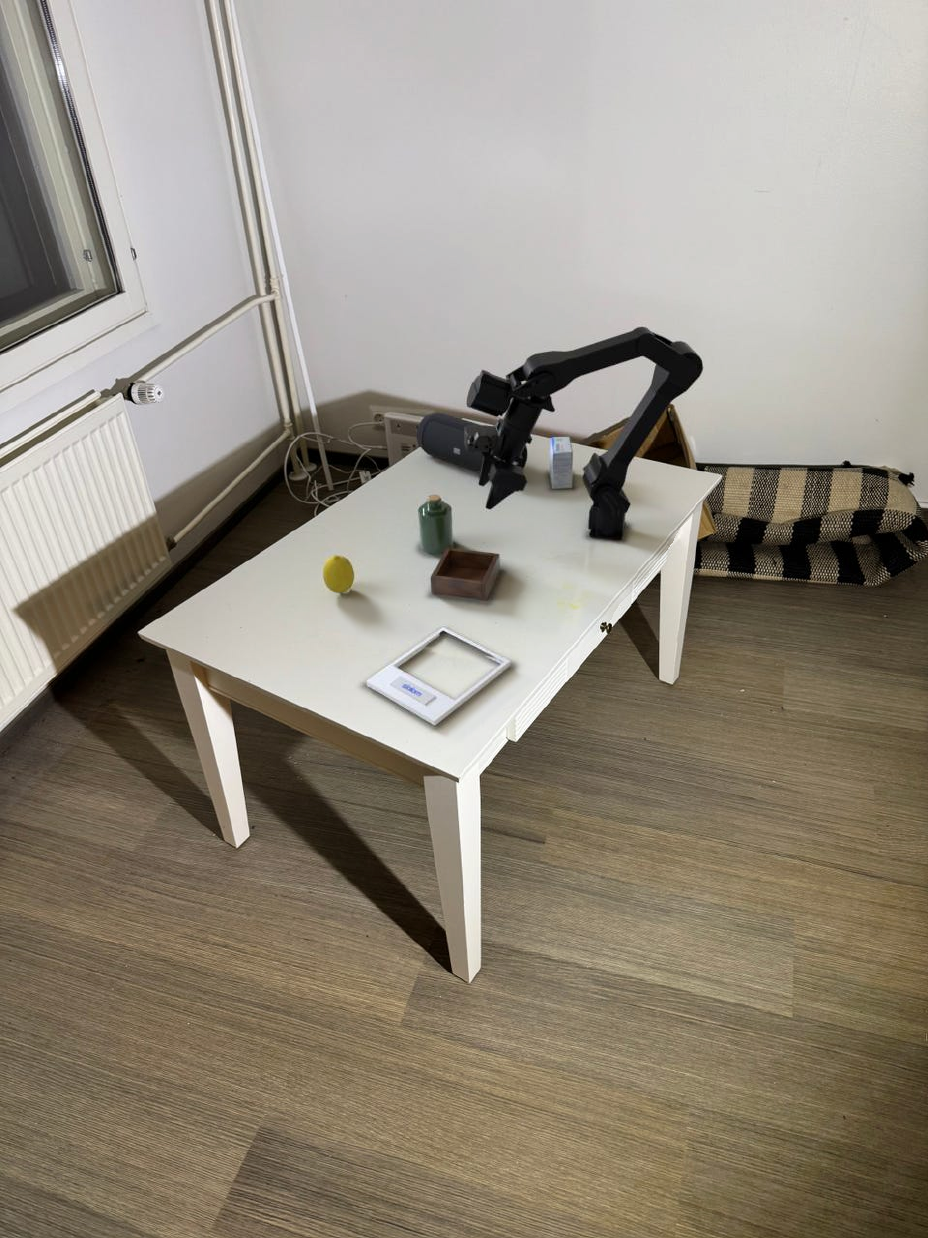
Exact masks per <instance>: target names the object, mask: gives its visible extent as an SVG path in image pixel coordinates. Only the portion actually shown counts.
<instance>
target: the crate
mask: <svg viewBox="0 0 928 1238" xmlns="http://www.w3.org/2000/svg"><path fill="white" fill-rule="evenodd" d="M500 557H501V554H500V553H496V552H495V553H494V552H488V551H478V550H472V549H471V550H470V549H462V548H454V547H453V548H446V550H445V552H444V553H443V554H441V557H440V559H439V561H438V563H437V564H436V566H435V568H434V569H433V572H432V574H431V575H430V589H431V594H432V595H439V596H440V595H441V596H448V597H455V598H461V599H462V598H463V599H470V600H476V601H477V600H478V601H487V600H488V598H489V595H490V594H491V592H492V589H493V587H494V585H495V582H496V580H497V578H498V575H499V573H500V571H501V560H500V559H501V558H500Z"/></svg>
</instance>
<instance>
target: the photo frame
mask: <svg viewBox="0 0 928 1238" xmlns="http://www.w3.org/2000/svg"><path fill="white" fill-rule="evenodd" d="M441 632H446V633H447V634H449V635H451V636H454V637H455V638H457V639H459V640H461V641H463V642H465V643H467V644H469V645H471V646H473V647H475V648H477V649H479V650H481V651H483V652H485V653H486V654H488V655H486V654H483V656H484V657H486V658H488V659H490V660H492V661H494V662H496V663H497V664H499V665H498V666H497V667H496V668H494V669H493V670H491V672H489V673H488V674H487V675H485V676H484V677H483V678H482V679H480V680H479V681H478V682H476V683H475V684H473V685H472V687H470V688H469V689H468V690H466V691H465V692H464V693H463V694H461V695H460V696H459V697H457V698H456V699H453V698H452V697H449V696H448V695H446V694H445V693H442V692H441V691H439V690H437V689H435V688H434V687H432V686H430V685H428V684H426V683H425V682H423V681H421V680H419V679H418V678H415V677H414V676H412V675H411V674H409V673H407V672H405V671H403V670H402V669H400V668H399V667H400V666H401V665H403V664H404V663H406V662H407V661H408V660H410V659H411V658H413V657H414V656H415V655H417V654H419V653H420V652H421V651H423V650H424V649H425V648H427V645H429V644H430V643H432V642H433V641H434V640H436V639H437V638H439V637H440V636H441V635H440V633H441ZM510 666H511V660H509V659H507V658H505V657H503V656H501V655H500V654H497V653H495V652H493V651H492V650H489V649H488V648H485V647H483V646H481V645H479V644H478V643H475V642H473V641H472V640H471V639H470V640H469V639H467V638H465V637H464V636H461V635H460V634H458V633H456V632H454V631H452V630H450V629H448V628H446V627H444V626H442V627H440V628H439V629H438V630H437V631H435V632H434V633H432V634H431V635H429V636H428V637H426V638H425V639H424V640H422V641H421V642H419V643H417V644H416V645H415V646H413V648H412V647H411V649H410V650H408V651H407V652H405V653H403V655H401V656H400V657H398V658H397V659H395V660H394V661H392V662H391V663H389V664H388V665H387V666H386V667H384V668H383V669H381V670H379V671H378V672H377V673H375V674H374V675H372V676H371V677H370V678H368V679H367V680H366V686H367V687H369V688H370V689H372V690H374V691H376V692H377V693H379V694H380V695H382V696H384V697H386V698H387V699H389V700H391V701H392V702H394V703H396V704H398V705H399V706H401V707H402V708H404V709H406V710H408V712H411V713H412V714H414V715H416V716H417V717H419V718H421V719H423V720H424V721H426V722H428V723H429V724H431V725H433V726H437V725H438V724H440V722H442V721H443V720H444V719H445V718H446V717H448V716H449V715H450V714H451V713H453V712H454V711H455V710H456V709H458V708H459V707H460V706H461V705H463V704H464V703H465V702H467V701H468V700H469V699H471V697H473V696H474V695H475V694H477V693H478V692H479V691H480V690H482V689H483V688H484V687H486V686H487V685H489V683H491V682H492V681H493V680H494V679H496V678H497V677H498V676H499V675H500V674H501V673H503V672H504V671H505V670H507V669H508V668H509V667H510Z"/></svg>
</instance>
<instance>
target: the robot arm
mask: <svg viewBox="0 0 928 1238" xmlns="http://www.w3.org/2000/svg"><path fill="white" fill-rule="evenodd" d="M640 357H644V358H646V359H647V360H649V361H651V362H652V363H654V369H653V373H652V378H651V383H650V385H649V387H648V389H647V390H646V391H645V393H644V395H643V396H642V398H641V400H640V401H639V402H638V403H637V406H636V408H635V409H634V410H633V412H632V414H631V415H630V416H629V418H628V419H627V421H626V423H625V425H624V426H623V427H622V428H621V430H620V432H619V434H618V435H617V436H616V438H615V440H614V441H613V443H612V445H611V446H610V447H609V449H608V450H606V451H605V452H604V453H602V454H600V455H599V454H598V453H596V452H594V453H592V455H591V457H590V459H589V460H588V463H587V464H586V465H584V467H582V471H583V474H582V484H583V486H584V487H585V490H586V492H587V494H588V496H589V498H590V499H591V501H592V505H591V506H590V508H589V511H588V524H587V526H588V527H587V529H588V530H589V533H588V537H590V538H597V539H604V540H605V539H606V540H614V541H622V540H623V537H624V534H625V530H626V527H627V522H626V514H627V513H628V511H629V509H630V507H631V502H630V500H629V498H628V496H627V495H626V493H625V491H624V489H623V487H624V485H625V483H626V479H627V473H628V471H629V466H630V465H631V463H632V461H633V460H634V458H635V456H636V455H637V454H638V453H639V451H640V449H641V447H642V446H643V445H644V444H645V442H646V440H647V438H648V437H649V436H650V434H651V433H652V431H653V430H654V428H655V427H656V426H657V424H658V423H659V421H660V419H661V418H662V417H663V415H664V414H665V412H666V410H667V409H668V407H669V406H670V405H671V403H672V402H673V401H674V400H675V399H677V398H678V397H680V396H681V395H683V394H684V393H686V392H687V391H688V390H689V389H690V388H691V387H692V386H693V385H694V384H695V383H696V382H697V380H698V379H699V378H700V377H701V375H702V373H703V370H704V364H703V360H702V358H701V356H700V355H699V354H698V353H697V352H696V351H695V350H694V349H693V348H692V347H691V346H690V345H689V343H687V342H685V341H683V340H676V341H672V340H671V339H668V338H667V337H665V336H663V335H660V334H658V333H656V332H654V331H652V330H650V329H649V328H648V327H646V326H637V327H636V328H634V329H633V330H631V331H628V332H627V331H626V332H624V333H621V334H617V335H615V336H611V337H608V338H606V339H602V340H600V341H596V342H594V343H591V344H588V345H585V346H582V347H579V348H576V349H573V350H566V351H563V350H561V351H560V350H551V351H543V352H537V353H533V354H531V355H529V356H528V357H527V358H526V359H525V362H524V363H523V364H522V365H521V366H518V367H517V368H516V369H514V370H512V371H511V372H509V373H508V374H506V375H505V377H502V376H498V375H495V374H493V373H491V372H490V371H488V370H485V369H481V371H480V373H479V375H477V376H476V377H475V379H474V380H473V382H471V384H470V386H469V389H468V392H467V396H466V407H467V408H469V409H472V410H474V411H475V410H476V411H478V412H480V413H483V414H487V415H490V416H492V417H495V418H498V417H499V416H500V417H503V418H499V419H497V420H496V422H495V424H494V425H485V424H479V425H469V426H465V430H464V444H465V448H466V451H468V452H482V454H483V460H482V467H481V472H479V473H480V474H479V479H478V485H479V486H480V487H485V486H486V485H487V484H488V482H491V484H490V487H489V491H488V496H487V499H486V502H485V509H487V510H492V509H494V508H495V507H496V506H498V505H499V504H500V503H502V502H503V501H504V500H506V499H507V498H508V497H509V496H511V495H512V494H514V493H515V492H516V493H517V492H522V491H524V490H525V487H526V486H527V484H528V479H527V477H526V475H525V472H524V469H522V467H519V466H516V465H514V464H513V463H514V462H517V463H520V464H521V462H522V460H523V458H522V455H521V454H522V452H523V449H524V447H525V445H526V446H527V444H529V445H531V443H532V441H533V437H532V433H533V431H534V428H535V426H536V424H537V422H538V420H539V418H540V416H541V413H542V412H543V410H544V411H548V412H549V413H554V412H555V411H556V408H555V406H554V404H553V400H552V399H553V398H552V395H554V394H555V393H557V392H559V391H561V390H563V389H565V388H566V387H567V386H569V385H570V384H571V383H572V382H573V381H574V380H576V379H578V378H580V377H582V376H585V375H586V376H587V375H589V374H592V373H595V372H598V371H601V370H604V369H607V368H610V367H613V366H616V365H619V364H623V363H626V362H629V361H631V360H634V359H637V358H640ZM522 382H524V383H522Z"/></svg>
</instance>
